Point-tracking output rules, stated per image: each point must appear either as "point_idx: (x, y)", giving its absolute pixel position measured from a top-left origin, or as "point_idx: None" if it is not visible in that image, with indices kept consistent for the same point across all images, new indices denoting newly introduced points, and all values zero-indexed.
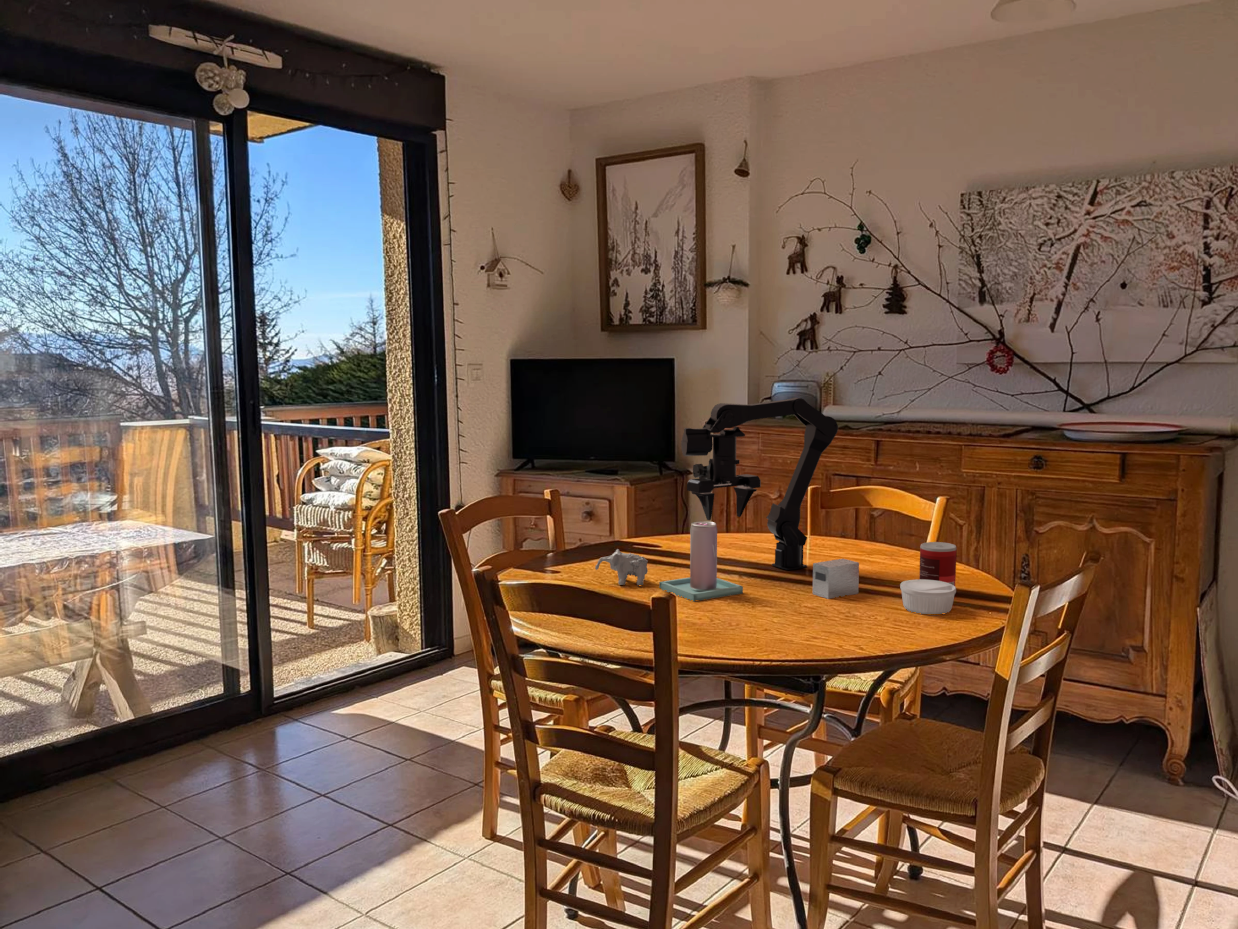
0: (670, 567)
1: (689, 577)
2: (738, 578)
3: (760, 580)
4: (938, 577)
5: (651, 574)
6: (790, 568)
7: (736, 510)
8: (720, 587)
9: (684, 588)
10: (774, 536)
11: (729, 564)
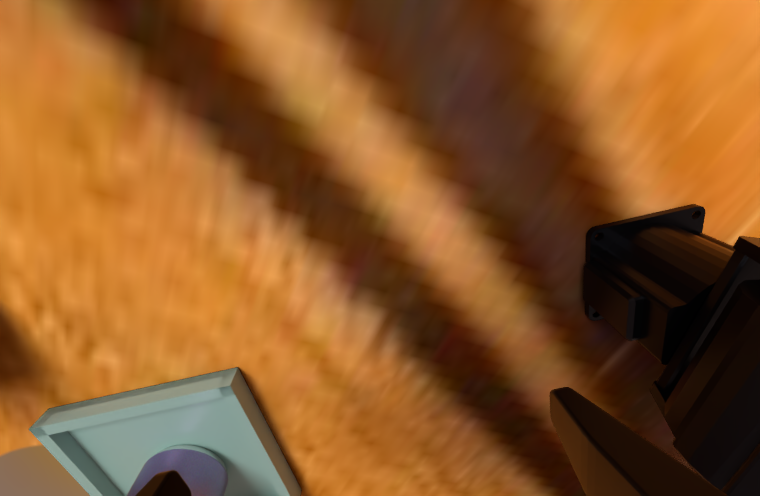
0: (118, 90)
1: (152, 403)
2: (361, 357)
3: (419, 394)
4: None
5: (10, 207)
6: (599, 319)
7: (586, 440)
8: (247, 463)
9: (129, 452)
10: (752, 242)
11: (439, 129)
